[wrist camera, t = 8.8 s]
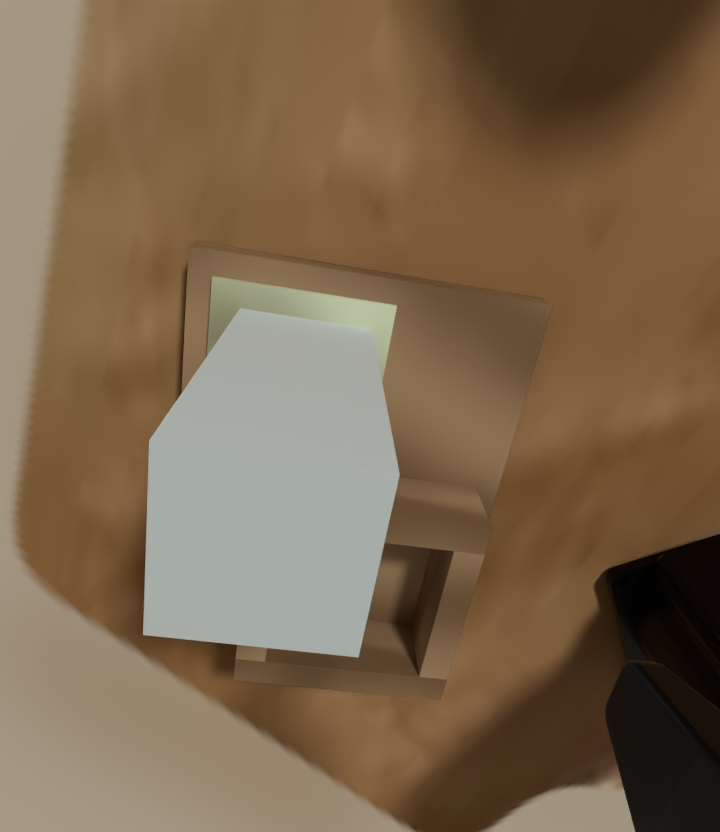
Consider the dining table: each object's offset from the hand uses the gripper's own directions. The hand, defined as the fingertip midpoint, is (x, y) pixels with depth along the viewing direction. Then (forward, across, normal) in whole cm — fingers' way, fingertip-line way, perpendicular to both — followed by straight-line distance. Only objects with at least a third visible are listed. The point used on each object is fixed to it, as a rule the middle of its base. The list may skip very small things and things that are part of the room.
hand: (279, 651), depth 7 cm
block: (+12, 0, +1) cm, 12 cm away
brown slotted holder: (+13, -1, +4) cm, 14 cm away
